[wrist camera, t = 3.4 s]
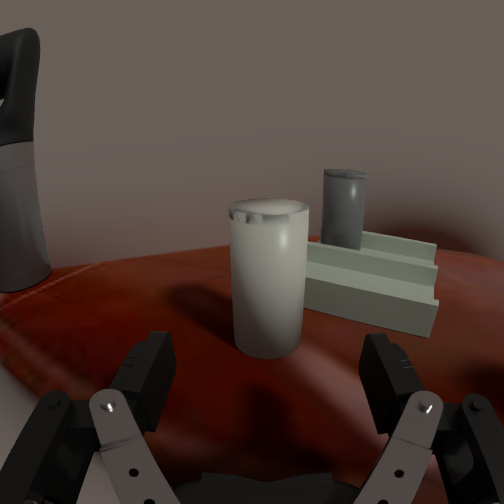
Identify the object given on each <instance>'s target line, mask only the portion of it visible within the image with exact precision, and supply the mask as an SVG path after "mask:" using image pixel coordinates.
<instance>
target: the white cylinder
mask: <svg viewBox="0 0 504 504" xmlns="http://www.w3.org/2000/svg"><path fill="white" fill-rule="evenodd" d="M308 222H309V206H308V205H307V204H305V203H302V202H298V201H294V200H286V199H250V200H243V201H238V202H235V203H232V204H230V205H229V229H230V257H231V281H232V303H233V323H234V340H235V344H236V346H237V347H238V349H239V350H241V351H242V352H243V353H245V354H247V355H249V356H252V357H255V358H261V359H275V358H280V357H284V356H286V355H289V354H290V353H292V352H294V351H295V350H296V349H297V348H298V346H299V344H300V340H301V330H302V318H303V306H304V293H305V278H306V262H307V244H308Z"/></svg>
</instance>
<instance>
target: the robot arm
mask: <svg viewBox="0 0 504 504" xmlns="http://www.w3.org/2000/svg"><path fill="white" fill-rule="evenodd" d="M39 59H40V41H39V37H38V34H37V32H36V31H35V30H34V29H32V28H24V29H20V30H17V31H14V32H10V33H7V34H4V35H1V36H0V100H2V99H4V101H3V103H2V105H1V107H0V291H1V292H13V291H18V290H21V289H25V288H27V287H30V286H32V285H35V284H37V283H38V282H40V281H42V280H43V279H45V278H46V277H47V276H48V275H49V274H50V272H51V265H50V261H49V256H48V252H47V247H46V242H45V237H44V231H43V226H42V220H41V213H40V207H39V200H38V192H37V183H36V173H35V161H34V143H33V127H34V108H35V93H36V84H37V76H38V69H39V61H40V60H39ZM175 373H176V358H175V353H174V348H173V343H172V338H171V334H170V333H169V332H160V331H151V332H150V334H149V336H148V338H147V340H146V341H145V342H139V343H137V344H136V345H135V346H134V347H132V348H131V349H130V351H129V353H128V355H127V356H126V358H125V360H124V362H123V365H121V367H120V369H119V370H118V372H117V374H116V376H115V378H114V379H113V381H112V383H111V385H110V387H109V388H108V389H104V390H101V391H99V392H97V393H95V394H94V395H93V396H92V398H91V399H90V400H83V401H71V400H70V398H69V396H68V395H67V394H66V393H65V392H63V391H59V390H56V391H51V392H48V393H46V394H45V395H44V396H43V397H42V398H41V399H40V401H39V402H38V404H37V406H36V407H35V409H34V411H33V412H32V414H31V416H30V417H29V419H28V421H27V423H26V424H25V426H24V428H23V430H22V431H21V433H20V435H19V437H18V438H17V440H16V442H15V444H14V446H13V448H12V449H11V452H10V453H9V455H8V457H7V459H6V461H5V463H4V465H3V467H2V469H1V471H0V504H76V502H77V499H78V496H79V493H80V490H81V487H82V484H83V481H84V478H85V475H86V473H87V470H88V467H89V465H90V462H91V459H92V456H93V454H94V451H100V453H101V456H102V459H103V461H104V464H105V467H106V469H107V472H108V475H109V477H110V479H111V482H112V484H113V487H114V489H115V491H116V494H117V496H118V498H119V501H120V503H121V504H411V502H412V500H413V498H414V496H415V494H416V492H417V489H418V487H419V485H420V483H421V480H422V478H423V475H424V473H425V471H426V468H427V466H428V463H429V460H430V458H431V455H432V454H435V457H436V460H437V463H438V466H439V469H440V473H441V476H442V480H443V483H444V487H445V491H446V494H447V498H448V502H449V504H504V428H503V426H502V424H501V422H500V420H499V418H498V416H497V415H496V413H495V411H494V409H493V407H492V405H491V404H490V402H489V400H488V399H487V398H485V397H484V396H482V395H479V394H469V395H467V396H466V397H465V398H464V399H463V401H462V402H461V404H456V403H442V400H441V399H440V398H439V397H438V396H437V395H436V394H434V393H432V392H429V391H426V390H425V388H424V386H423V384H422V382H421V381H420V379H419V377H418V375H417V373H416V371H415V369H414V367H412V364H411V362H410V360H409V358H408V356H407V355H406V353H405V351H404V350H403V349H402V348H401V347H399V346H398V345H397V344H396V343H395V344H391V343H390V341H389V339H388V337H387V336H386V334H385V333H372V334H367V335H366V336H365V340H364V344H363V348H362V352H361V356H360V360H359V376H360V379H361V382H362V385H363V388H364V391H365V394H366V397H367V400H368V403H369V407H370V410H371V413H372V416H373V419H374V423H375V426H376V429H377V433H378V434H384V433H388V436H389V439H388V441H387V443H386V445H385V447H384V448H383V450H382V452H381V454H380V456H379V458H378V459H377V461H376V463H375V465H374V466H373V468H372V470H371V471H370V473H369V475H368V476H367V478H366V479H365V481H364V483H363V484H362V486H361V487H360V488H358V487H356V486H354V485H352V484H349V483H346V482H342V481H337V480H333V478H332V472H331V473H321V474H307V475H298V476H294V477H290V478H286V479H282V480H277V481H273V482H261V481H257V480H253V479H249V478H245V477H241V476H237V475H232V474H218V473H208V472H202V475H201V479H200V480H193V481H188V482H185V483H182V484H179V485H177V486H174V487H173V488H170V486H169V484H168V483H167V481H166V479H165V478H164V476H163V474H162V472H161V471H160V469H159V467H158V465H157V463H156V462H155V460H154V458H153V456H152V454H151V452H150V450H149V448H148V446H147V444H146V442H145V440H144V438H143V437H144V434H145V431H149V432H155V431H156V428H157V425H158V422H159V419H160V416H161V413H162V410H163V408H164V405H165V402H166V399H167V396H168V393H169V390H170V387H171V385H172V382H173V379H174V376H175ZM468 445H469V446H468ZM469 448H470V449H469ZM470 450H471V451H470ZM471 453H472V454H471Z"/></svg>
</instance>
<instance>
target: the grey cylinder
mask: <svg viewBox="0 0 504 504" xmlns="http://www.w3.org/2000/svg"><path fill="white" fill-rule="evenodd" d="M365 192H366V173H365V172H360V171H352V170H340V169H327V170H324V186H323V212H322V230H321V244H326V245H331V246H337V247H342V248H348V249H353V250H358V251H360V249H361V240H362V230H363V219H364V206H365Z"/></svg>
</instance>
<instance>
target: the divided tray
mask: <svg viewBox="0 0 504 504" xmlns="http://www.w3.org/2000/svg"><path fill="white" fill-rule="evenodd" d="M321 230H322V226H321V228H320V240H319V241H318V242H317V243H315V242H309V241H308V244H307V262H306V278H305V293H304V306H303V307H304V308H308V309H311V310H315V311H319V312H323V313H327V314H330V315H334V316H338V317H342V318H346V319H350V320H354V321H358V322H362V323H366V324H370V325H374V326H379V327H383V328H387V329H391V330H396V331H400V332H404V333H409V334H413V335H417V336H422V337H427V338H429V335H430V332H431V329H432V326H433V323H434V320H435V317H436V313H437V310H438V306H439V300H435V299H434V285H435V280H436V276H437V271H438V266H436V265H434V258H435V253H436V247H437V245H436V244H432V243H427V242H421V241H416V240H411V239H405V238H399V237H394V236H388V235H383V234H377V233H371V232H366V231H362V240H361V249H360V251H358V250H353V249H348V248H342V247H337V246H331V245H326V244H321Z"/></svg>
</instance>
